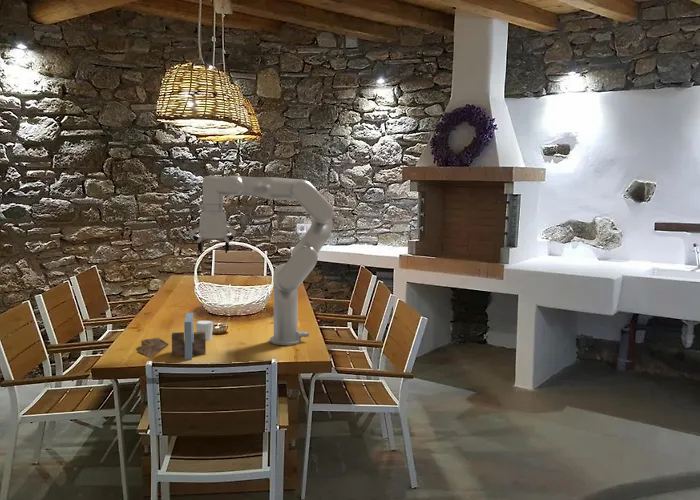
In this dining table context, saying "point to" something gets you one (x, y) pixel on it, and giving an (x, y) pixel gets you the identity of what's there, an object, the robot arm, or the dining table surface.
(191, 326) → the blue-grey notched panel
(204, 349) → the wood grain block
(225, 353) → the dining table surface
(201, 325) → the white topped beige cylinder
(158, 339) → the wooden fragment
